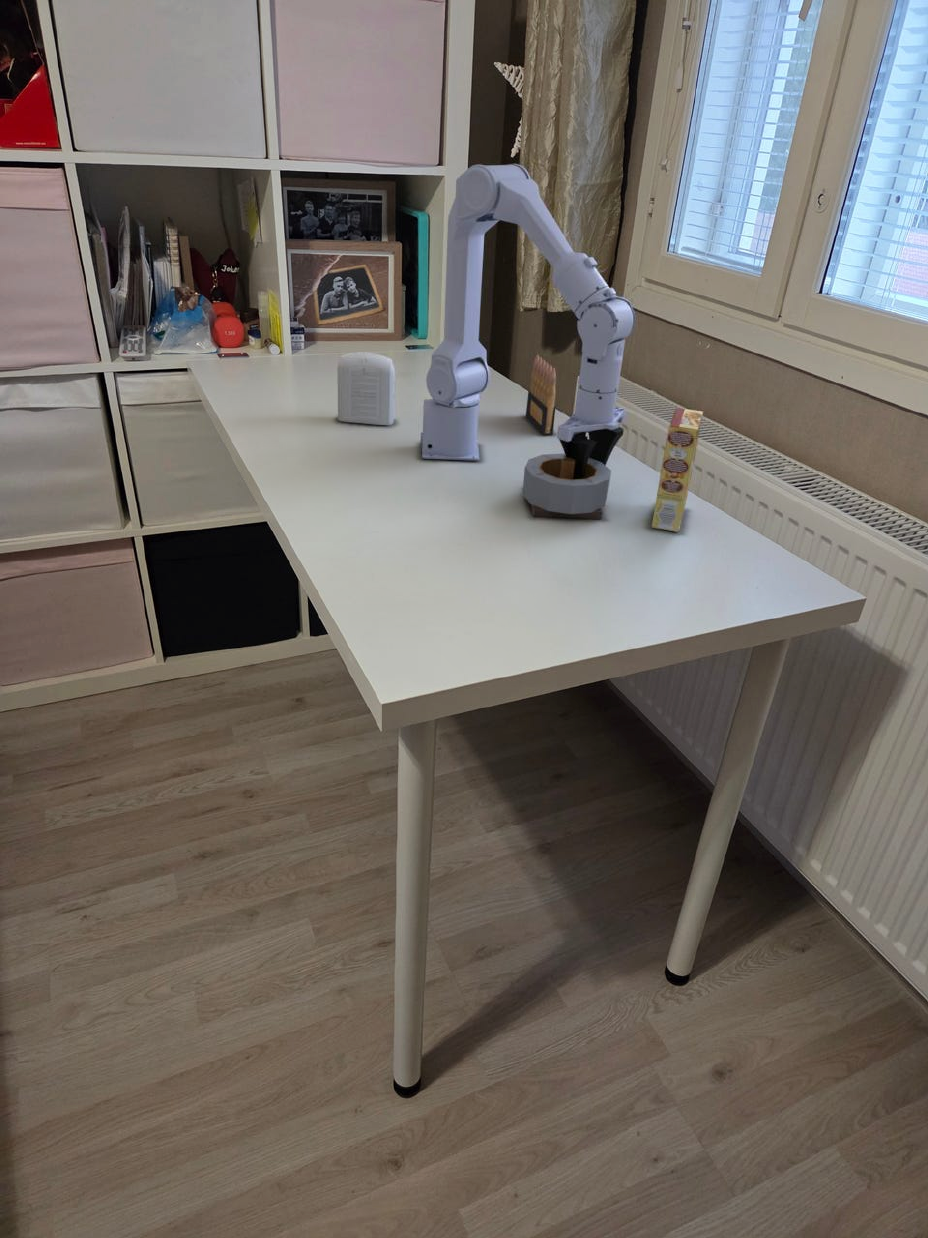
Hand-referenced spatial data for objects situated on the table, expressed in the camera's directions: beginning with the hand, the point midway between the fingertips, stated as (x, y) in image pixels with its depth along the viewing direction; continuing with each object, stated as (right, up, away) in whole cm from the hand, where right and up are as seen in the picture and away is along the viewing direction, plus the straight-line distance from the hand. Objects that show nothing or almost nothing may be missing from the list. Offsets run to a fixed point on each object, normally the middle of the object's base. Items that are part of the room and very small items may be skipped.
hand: (585, 475), depth 129 cm
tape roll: (-3, -3, -2) cm, 5 cm away
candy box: (+11, -7, -4) cm, 14 cm away
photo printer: (-37, +14, +26) cm, 47 cm away
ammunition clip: (-5, +14, +29) cm, 33 cm away
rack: (-4, -5, -2) cm, 6 cm away
